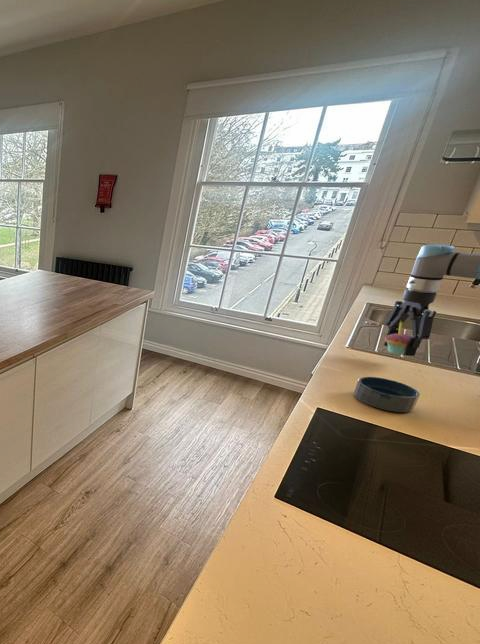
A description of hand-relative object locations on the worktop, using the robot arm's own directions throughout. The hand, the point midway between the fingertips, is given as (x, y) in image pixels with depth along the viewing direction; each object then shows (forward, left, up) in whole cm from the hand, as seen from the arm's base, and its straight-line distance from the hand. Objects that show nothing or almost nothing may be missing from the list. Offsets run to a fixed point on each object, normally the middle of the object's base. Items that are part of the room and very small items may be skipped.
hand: (398, 350), depth 145 cm
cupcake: (0, 0, -1) cm, 1 cm away
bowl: (-32, +24, -6) cm, 40 cm away
